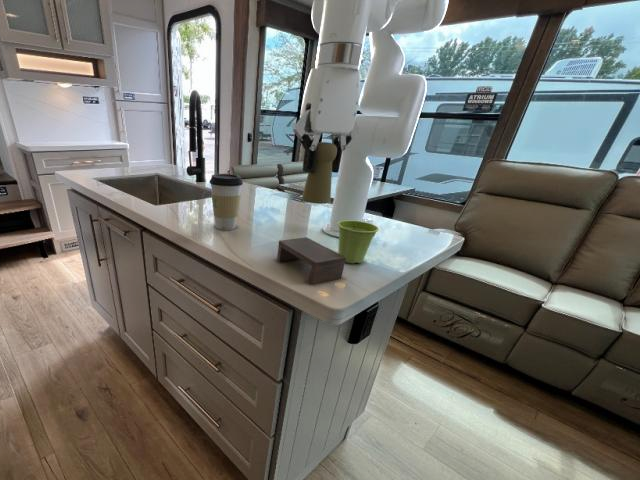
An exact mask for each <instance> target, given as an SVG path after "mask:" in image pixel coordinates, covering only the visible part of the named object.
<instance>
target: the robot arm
mask: <svg viewBox="0 0 640 480" xmlns="http://www.w3.org/2000/svg"><path fill="white" fill-rule="evenodd" d="M448 5H449V0H313V1H312V7H311V23H312V26H313V29H314V31H315V32H316V33H317V34H318V36H319V37H318V45H317V51H316V60H315V66H314V67H313V68H311V69H310V72H309V74H308V78H307V80H306V85H305V88H304V93H303V97H302V103H301V107H300V108H301V109H300V115H299V119H298V120H297V122H296V123H295V125H294V126H293V127H292V131H293V133H294V134H295V136H296V137H297V138H298V140H299V142H300V144H301V145H302V149H303V150H304V154H303V161H302V172H305V173H307V174H308V173H314V172H315V168H316V161H317V155H318V151H315V149H316V146H317V144H318V143H319V141H320V138H321V136H322V134H327V135H331V143H332V144H334V145H336V147H337V155H336V157H335V159H334V160H333V161H332V173H336V174H337V173H338V175H337V181H336V185H335V191H334V196H333V201H332V207H331V213H330V218H329V223H327V224H324V225H323V228H322V230H323V232H324V233H326V234H327V235H329V236H332V237H336V238H339V226H338V222H340V221H345V220H352V221H361V222H366V223H370V224H374V221H373V219H372V218H364V216H365V213H366V208H367V203H368V200H369V196H370V192H371V191H370V190H371V187H372V182H373V178H374V169H373V166H372V164H371V163H370V160H369V158H371V157H372V158H373V157H375V158H385V159H386V158H387V159H399V158H402V157H403V156H405V154H407V152H408V150H409V147H410V146H411V143H412V141H413V137H414V134H415V131H416V127H417V124H418V122H419V118H420V115H421V112H422V109H423V106H424V103H425V98H426V94H427V79H426V78H425V77H424V76H423V75H421V74H417V73H402V72H403V69H404V66H405V63H406V57H405V53H404V51H403V49H402V46H401V45H400V43H399V42H398V41H397V40H396V38H395V37H394V36H395V35H407V34H408V35H409V34H423V33H424V34H425V33H429V32H433V31H435V30H437V28H438V27H439V26H440V25H441V24H442V22H443V20H444V18H445V15H446V12H447V10H448ZM366 34H369V46H370V47H369V48H370V64H369V66H368V69H367V73H366V76H365V80H364V82H363V86H362V88H361V71H360V67H361V65H362V64H363V63H364V60H365V58H364V56H363V55H362V54H363V51H364V45H365V39H366ZM360 89H361V93H360ZM358 110H359V112H360V113H361V114H362V115H357V112H358ZM368 157H369V158H368Z"/></svg>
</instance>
